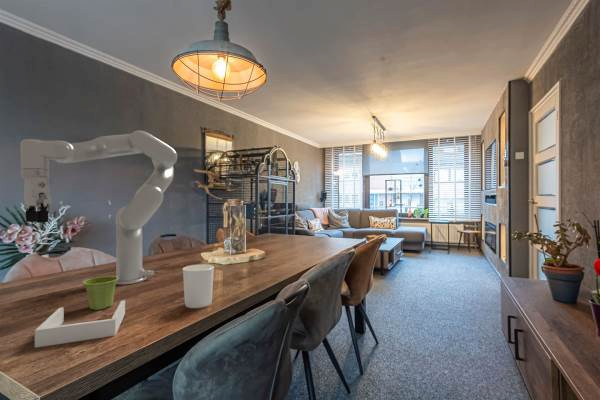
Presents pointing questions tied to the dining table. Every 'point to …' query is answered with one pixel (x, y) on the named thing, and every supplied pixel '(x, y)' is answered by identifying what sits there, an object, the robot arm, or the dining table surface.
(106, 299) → the plant pot
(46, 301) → the dining table surface
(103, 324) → the box
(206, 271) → the candle holder
